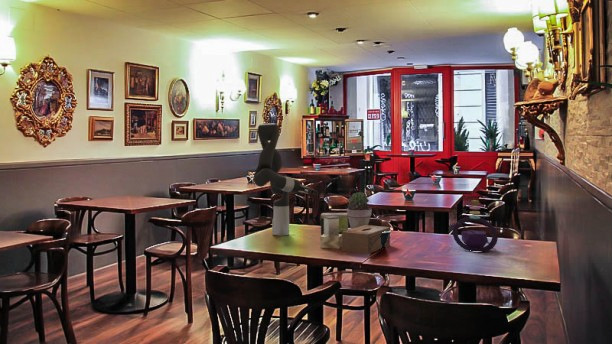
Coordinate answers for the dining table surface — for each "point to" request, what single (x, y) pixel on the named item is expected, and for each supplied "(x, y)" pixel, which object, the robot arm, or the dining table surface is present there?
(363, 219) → the potted plant
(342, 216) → the tea box
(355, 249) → the tissue box cover
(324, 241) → the chevron patterned box
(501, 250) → the dining table surface
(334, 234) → the canister
